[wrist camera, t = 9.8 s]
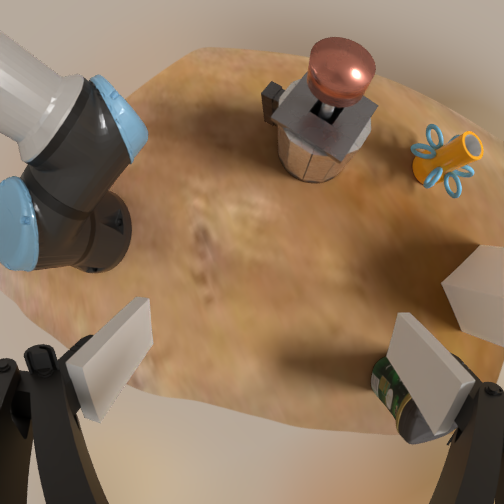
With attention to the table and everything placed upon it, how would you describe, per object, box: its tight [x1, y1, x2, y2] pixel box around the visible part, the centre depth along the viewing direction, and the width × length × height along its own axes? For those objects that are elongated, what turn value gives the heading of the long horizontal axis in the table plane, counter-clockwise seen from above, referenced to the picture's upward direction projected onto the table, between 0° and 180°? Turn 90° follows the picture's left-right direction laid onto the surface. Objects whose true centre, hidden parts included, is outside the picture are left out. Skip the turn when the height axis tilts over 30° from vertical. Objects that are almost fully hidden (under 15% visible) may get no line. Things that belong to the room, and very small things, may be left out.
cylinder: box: [411, 124, 483, 198], centre depth 35 cm, size 12×10×15 cm
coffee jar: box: [371, 357, 458, 444], centre depth 34 cm, size 10×8×19 cm
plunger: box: [307, 37, 376, 123], centre depth 30 cm, size 6×6×22 cm
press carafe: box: [261, 71, 378, 183], centre depth 36 cm, size 14×11×15 cm
